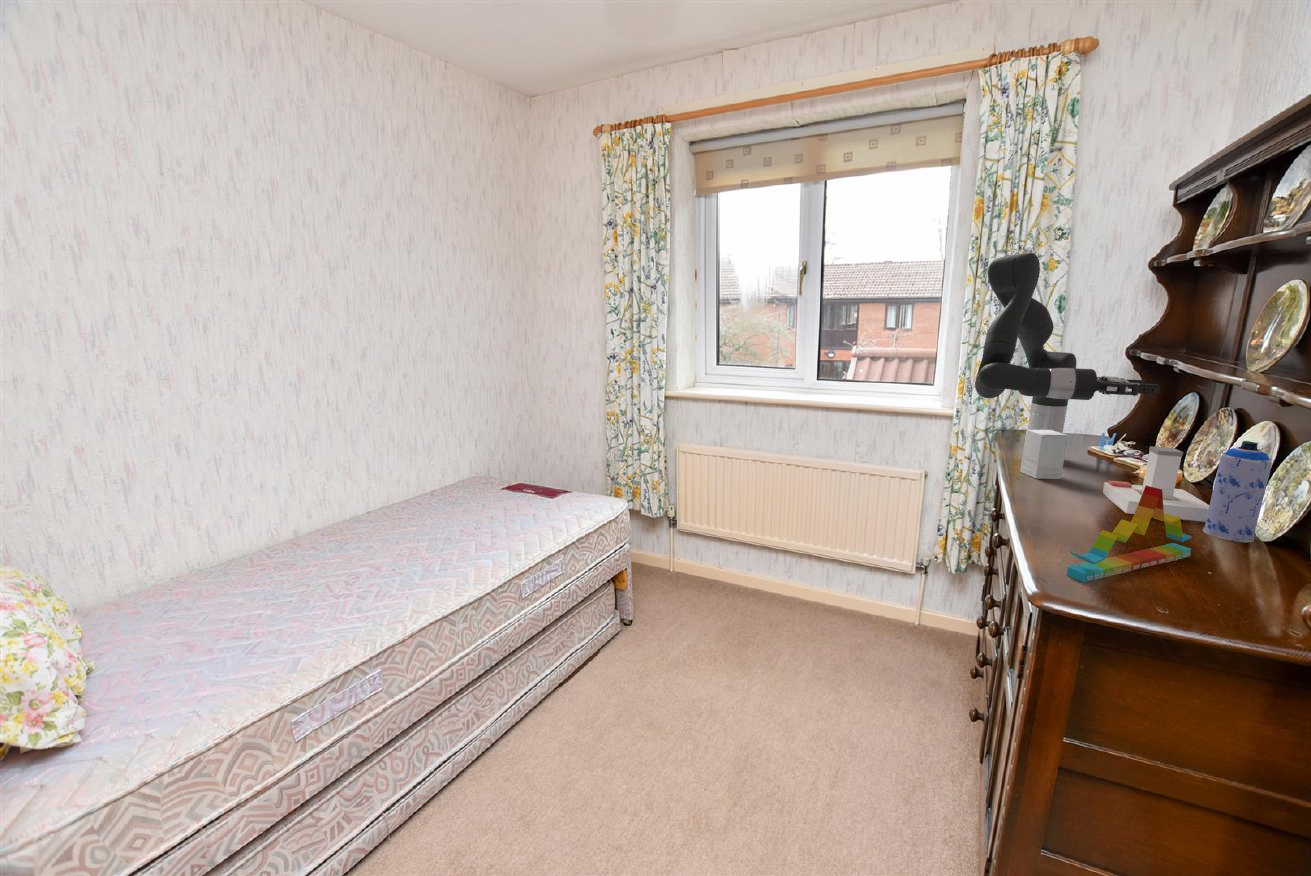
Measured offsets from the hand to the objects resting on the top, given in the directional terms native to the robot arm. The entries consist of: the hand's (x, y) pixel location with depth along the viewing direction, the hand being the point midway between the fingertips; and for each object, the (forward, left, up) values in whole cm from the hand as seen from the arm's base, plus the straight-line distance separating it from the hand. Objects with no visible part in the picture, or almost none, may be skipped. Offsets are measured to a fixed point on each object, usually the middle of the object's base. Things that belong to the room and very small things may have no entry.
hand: (1151, 387), depth 136 cm
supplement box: (-19, -14, -29) cm, 37 cm away
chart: (+44, -13, -29) cm, 54 cm away
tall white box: (+2, +5, -28) cm, 29 cm away
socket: (+2, +5, -28) cm, 29 cm away
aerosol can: (+18, +12, -29) cm, 36 cm away
